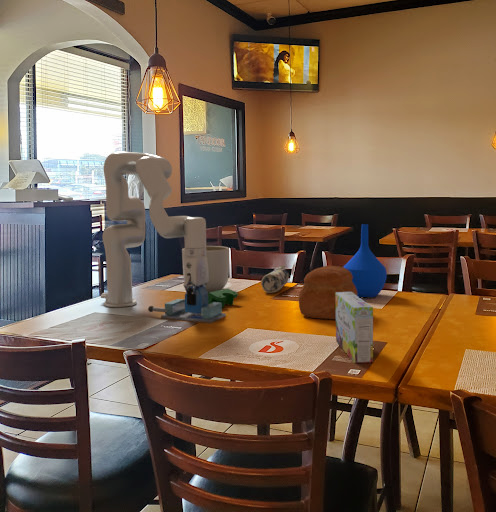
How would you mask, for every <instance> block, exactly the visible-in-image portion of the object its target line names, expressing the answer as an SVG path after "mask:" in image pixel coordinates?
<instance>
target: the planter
mask: <svg viewBox="0 0 496 512" xmlns="http://www.w3.org/2000/svg"><path fill="white" fill-rule="evenodd" d="M181 254H182V255H181V258H182V260H181V261H182V274H183V276H184V270H185V258H186V257H185V247H184V248H182V249H181ZM206 256H207V261H208V272H209V281H208V282H207V284H206V291H207V292H208V294H209V292H214V291H218V290H223V289H225V288H224V287H226V286H227V284H228V282H229V274H230V272H229V271H230V248H229V247H227V246H222V245H206ZM183 280H184V282H185V279H184V278H183ZM191 285H192V284H191Z"/></svg>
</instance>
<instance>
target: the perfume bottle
mask: <svg viewBox="0 0 496 512" xmlns="http://www.w3.org/2000/svg"><path fill="white" fill-rule="evenodd" d="M191 284H192V283H191ZM192 285H193V284H192ZM192 288H193V287H191V289H192ZM194 294H196V305H187V294H186V293H185V294H184V299H185V312H186V313H199V314H202V307H204V306H206V305H208V294H209V293H208V292H207V291H206V289H205V287H204V286H196V288H195V293H194Z"/></svg>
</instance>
